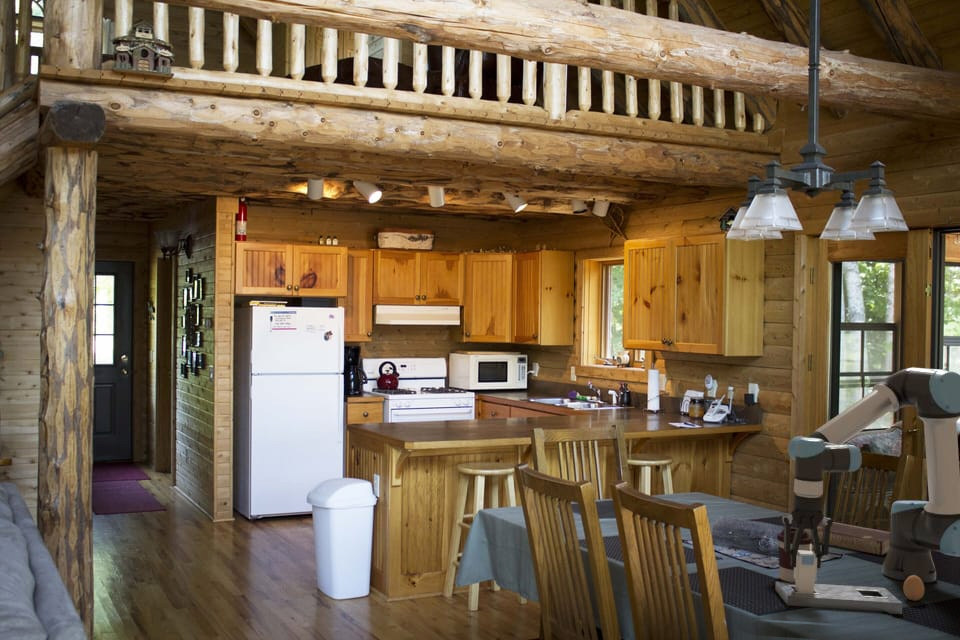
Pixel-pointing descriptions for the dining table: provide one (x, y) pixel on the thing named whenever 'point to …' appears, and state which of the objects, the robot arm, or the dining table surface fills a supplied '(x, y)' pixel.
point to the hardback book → (856, 538)
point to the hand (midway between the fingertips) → (804, 579)
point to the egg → (913, 588)
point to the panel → (841, 597)
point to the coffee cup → (785, 558)
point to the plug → (806, 572)
